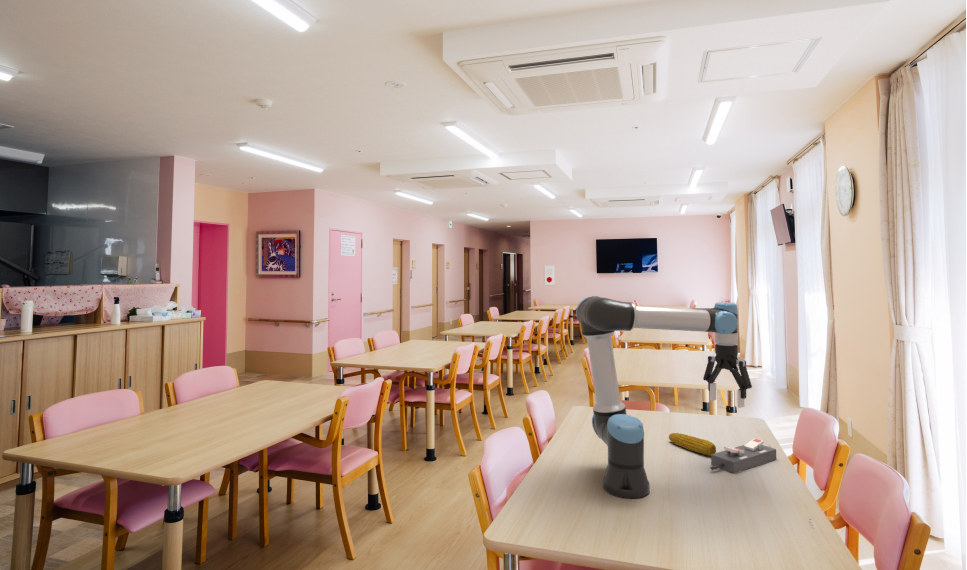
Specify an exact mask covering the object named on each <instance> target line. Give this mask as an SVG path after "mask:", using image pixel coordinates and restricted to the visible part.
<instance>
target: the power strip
mask: <svg viewBox="0 0 967 570" xmlns="http://www.w3.org/2000/svg"><path fill="white" fill-rule="evenodd" d="M746 444H747V443H746ZM746 444H743V445H739V446H735V447H734V448H738V449H741V450H743V451H744V454H743V453H733V452H730V451H727V450H721V451H718V452H716V453H714V454H711V456H710V457H711V458H710V459H711V461H710V462H711V466H710V467H709V468H710V471H714V470H717V469H721V470H723V471H726V472H729V473H732V474H736V473H739V472H743V471H746V470H749V469H752V468H755V467H758V466H761V465H764V464H766V463H767V464H768V463H769V462H773V461H775V460H777V448H775V447H771V446H767V445H764V444H762V445H761V446H759V447H758V448H756V449H755V450H754V451H752V450H749V449H746V448H744V445H746Z"/></svg>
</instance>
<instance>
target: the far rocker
mask: <svg viewBox="0 0 967 570" xmlns="http://www.w3.org/2000/svg"><path fill="white" fill-rule="evenodd" d="M743 445H744V448H746V449H749V450H752V451H754V450H755V449H756V448H758V447H759V446H761V445H764V440H762V439H758V438H753V439H751V440H750V441H749V442H747V443H746V445H745V444H743Z"/></svg>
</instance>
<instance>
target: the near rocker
mask: <svg viewBox="0 0 967 570" xmlns="http://www.w3.org/2000/svg"><path fill="white" fill-rule="evenodd" d="M723 447H724V448H723V451H725V450H727V451H730V452H733V453H743V454H744V451H743V450H741V449H738V448H735V447H729V446H728V447H727V446H723Z"/></svg>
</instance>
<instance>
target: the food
mask: <svg viewBox="0 0 967 570" xmlns="http://www.w3.org/2000/svg"><path fill="white" fill-rule="evenodd" d="M668 439H669V440H670V442H671V443H672V444H675V445H677V446H679V447H681V448H684V449H686V450H689V451H692V452H696V453H698V454H701V455H704V456H708V457H711V454H714V453H717V446H716V445H715V444H714V443H713V442H711V441H709V440H707V439H704V438H699V437H696V436H692V435H688V434H684V433H679V432H672V433H670V434H669V435H668Z"/></svg>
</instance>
